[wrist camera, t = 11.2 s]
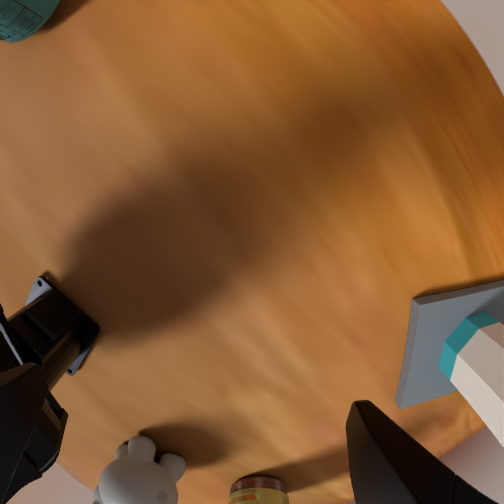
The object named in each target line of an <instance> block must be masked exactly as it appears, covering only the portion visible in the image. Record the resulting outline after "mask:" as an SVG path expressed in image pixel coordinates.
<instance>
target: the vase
mask: <svg viewBox="0 0 504 504" xmlns="http://www.w3.org/2000/svg"><path fill="white" fill-rule="evenodd" d="M439 368H440V369H441V370H442V372H443V373H444V374H445V375H446V376H447V377H448V379H449V380H450V381H451V382H452V383H453V385H454V386H455V387H456V388H457V389H458V391H459V392H460V393H461V394H462V395H463V397H464V398H465V399H466V400H467V401H468V403H469V404H470V405H471V406H472V408H473V409H474V410H475V411H476V412H477V414H478V415H479V416H480V417H481V419H482V420H483V421H484V423H485V424H486V425H487V426H488V428H489V429H490V430H491V431H492V433H493V434H494V435H495V437H496V438H497V439H498V441H499V442H500V443H501V444H502V446H503V447H504V325H503V324H502V323H500V322H499V321H497V320H496V319H495V318H493V317H492V316H490V315H489V314H487V313H486V312H484V313H481V314H477V315H474V316H470V317H466V318H464V320H463V321H462V322H461V323H460V324H459V326H458V327H457V328H456V329H455V330H454V332H453V333H452V334H451V335H450V336H449V337H448V338H447V340H446V341H445V342H444V347H443V351H442V355H441V360H440V363H439Z"/></svg>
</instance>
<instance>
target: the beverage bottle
mask: <svg viewBox="0 0 504 504" xmlns="http://www.w3.org/2000/svg"><path fill="white" fill-rule="evenodd" d="M58 3H59V0H0V39H1V40H4V42H6V41H7V42H11V43H12V42H19V41H22V40H25V39H27V38H28V37H30V36H31V35H33V34H34V33H35V32H36V31H37V30H39V29H40V28H41V27H42V26H43V25H44V24H45V22H46V21H47V20H48V19H49V18H50V16H51V15H52V14H53V12H54V10H55V9H56V7H57V5H58Z"/></svg>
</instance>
